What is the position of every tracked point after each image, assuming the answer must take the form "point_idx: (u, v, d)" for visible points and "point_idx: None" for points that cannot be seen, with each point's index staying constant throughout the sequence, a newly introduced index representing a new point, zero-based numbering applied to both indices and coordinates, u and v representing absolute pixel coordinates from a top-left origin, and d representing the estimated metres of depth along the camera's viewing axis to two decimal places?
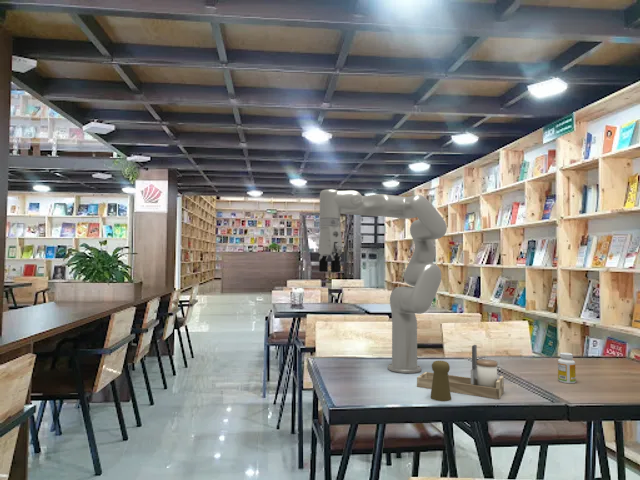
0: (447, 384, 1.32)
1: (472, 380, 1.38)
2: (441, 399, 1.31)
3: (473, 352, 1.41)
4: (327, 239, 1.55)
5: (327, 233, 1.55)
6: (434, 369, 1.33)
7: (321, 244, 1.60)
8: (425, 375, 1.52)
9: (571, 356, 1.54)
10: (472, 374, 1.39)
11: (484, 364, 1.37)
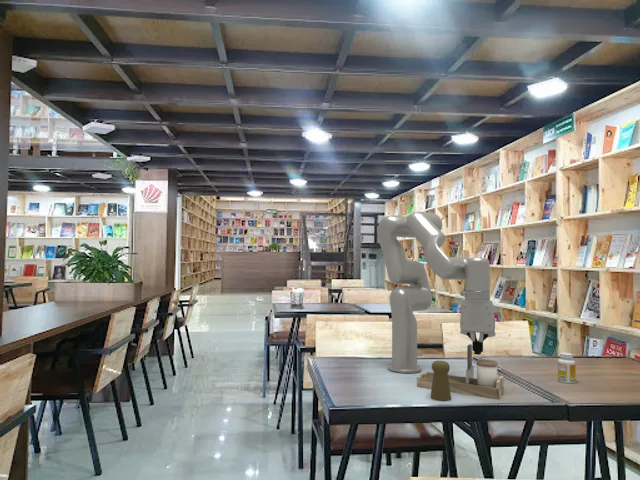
0: (447, 384, 1.32)
1: (467, 379, 1.39)
2: (441, 399, 1.31)
3: (468, 351, 1.41)
4: None
5: None
6: (434, 369, 1.33)
7: None
8: (425, 375, 1.52)
9: (571, 356, 1.54)
10: (467, 373, 1.39)
11: (484, 364, 1.37)
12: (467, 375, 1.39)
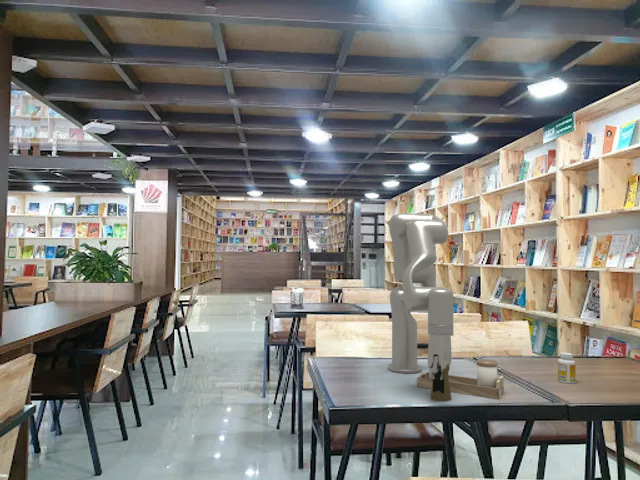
0: (447, 384, 1.32)
1: (430, 374, 1.45)
2: (441, 399, 1.31)
3: None
4: (450, 348, 1.36)
5: (450, 340, 1.36)
6: None
7: (447, 355, 1.32)
8: (425, 375, 1.52)
9: (571, 356, 1.54)
10: (430, 368, 1.45)
11: (484, 364, 1.37)
12: (430, 370, 1.45)
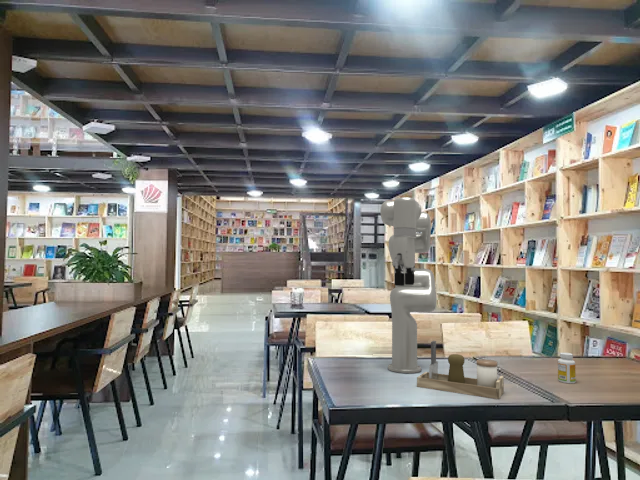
0: (462, 376, 1.43)
1: (430, 374, 1.45)
2: None
3: (432, 348, 1.47)
4: (414, 251, 1.51)
5: (414, 244, 1.51)
6: (450, 362, 1.44)
7: (409, 255, 1.47)
8: (425, 375, 1.52)
9: (571, 356, 1.54)
10: (430, 368, 1.45)
11: (484, 364, 1.37)
12: (430, 370, 1.45)
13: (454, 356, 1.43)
